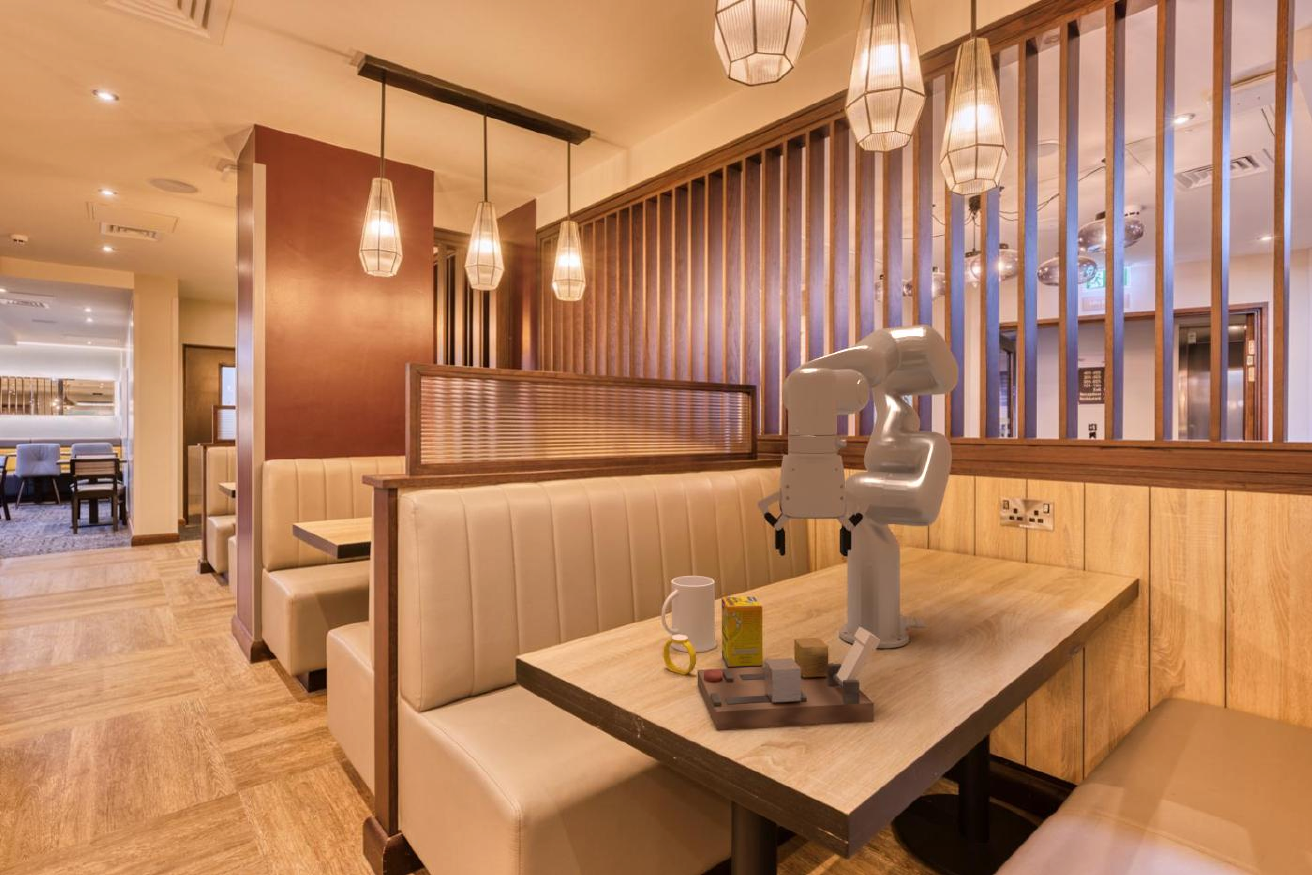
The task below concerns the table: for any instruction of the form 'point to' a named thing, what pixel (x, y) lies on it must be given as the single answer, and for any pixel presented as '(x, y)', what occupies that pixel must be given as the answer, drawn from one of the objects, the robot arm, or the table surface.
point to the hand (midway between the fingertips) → (812, 554)
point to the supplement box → (741, 632)
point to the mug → (692, 612)
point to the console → (747, 705)
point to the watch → (684, 640)
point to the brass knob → (811, 656)
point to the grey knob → (782, 680)
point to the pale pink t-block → (856, 656)
